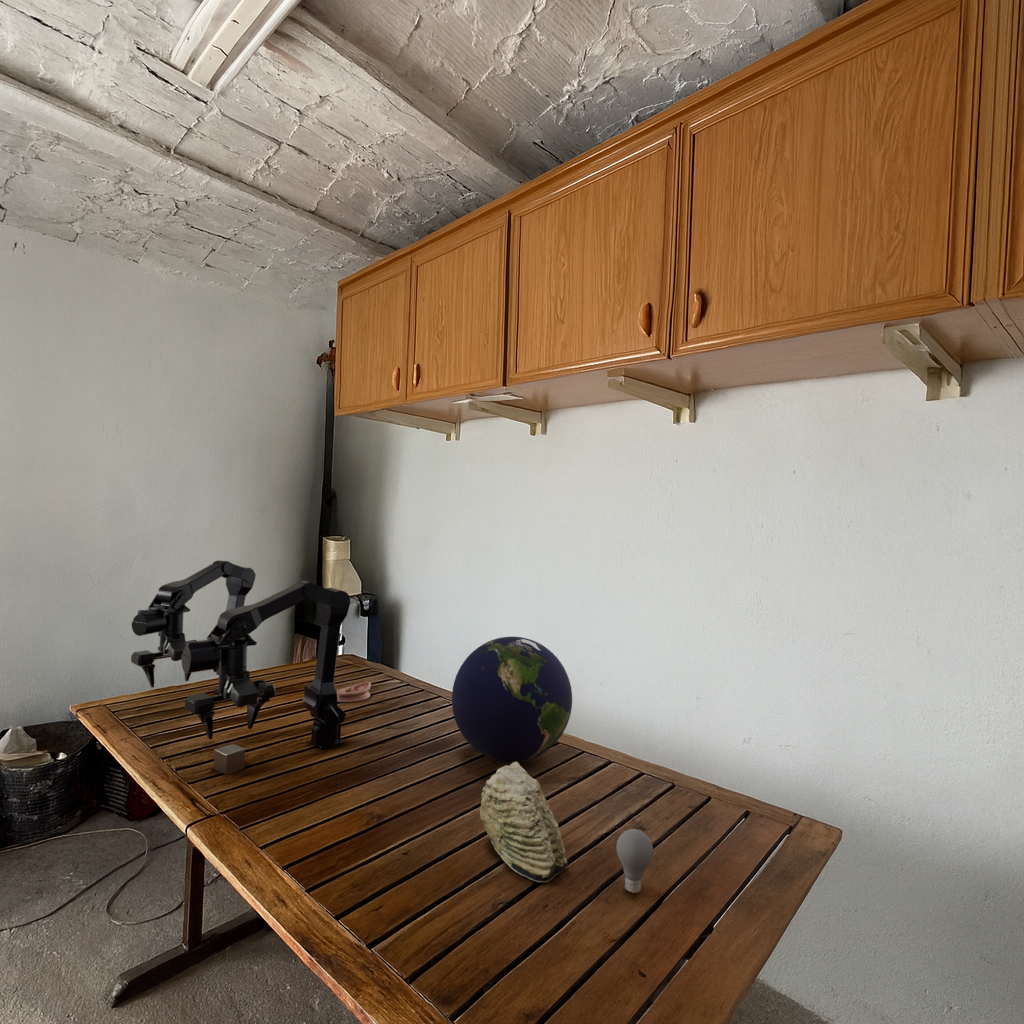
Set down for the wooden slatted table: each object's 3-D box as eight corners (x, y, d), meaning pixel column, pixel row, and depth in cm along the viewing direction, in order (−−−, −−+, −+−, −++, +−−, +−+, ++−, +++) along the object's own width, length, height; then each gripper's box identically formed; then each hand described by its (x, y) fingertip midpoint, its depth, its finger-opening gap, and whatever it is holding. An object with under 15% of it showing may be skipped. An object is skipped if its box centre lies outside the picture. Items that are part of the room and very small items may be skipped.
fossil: (501, 827, 124) (504, 751, 124) (575, 868, 111) (578, 784, 111) (467, 843, 118) (470, 763, 118) (541, 889, 105) (545, 799, 105)
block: (213, 769, 145) (214, 749, 145) (232, 762, 149) (233, 743, 148) (225, 774, 142) (226, 755, 142) (244, 768, 146) (245, 748, 146)
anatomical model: (319, 687, 195) (337, 677, 207) (319, 699, 195) (336, 689, 207) (359, 691, 193) (375, 681, 204) (359, 704, 193) (374, 693, 204)
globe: (497, 727, 179) (502, 621, 178) (591, 755, 161) (596, 638, 161) (424, 759, 155) (429, 637, 154) (524, 797, 137) (530, 659, 137)
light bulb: (610, 879, 108) (613, 822, 108) (644, 879, 109) (647, 822, 109) (619, 902, 102) (622, 840, 102) (655, 901, 103) (658, 840, 103)
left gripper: (147, 638, 167) (145, 697, 167) (217, 629, 181) (215, 683, 182) (131, 631, 174) (129, 688, 175) (200, 623, 189) (198, 675, 189)
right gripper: (207, 681, 132) (205, 755, 133) (289, 666, 147) (286, 733, 147) (184, 670, 140) (182, 740, 140) (264, 657, 154) (262, 720, 154)
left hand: (169, 684), depth 180 cm, fingers open, 9 cm apart
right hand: (230, 733), depth 145 cm, fingers open, 9 cm apart
